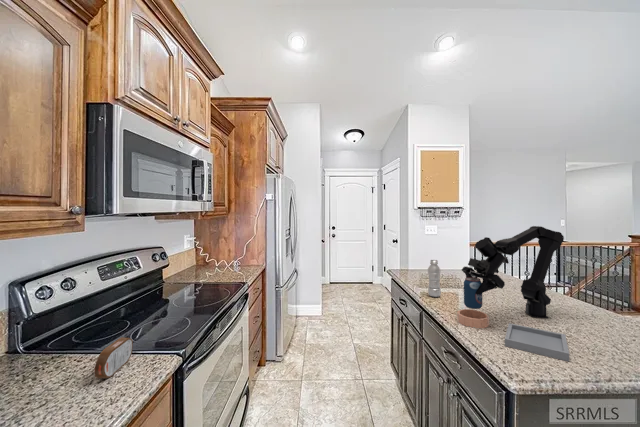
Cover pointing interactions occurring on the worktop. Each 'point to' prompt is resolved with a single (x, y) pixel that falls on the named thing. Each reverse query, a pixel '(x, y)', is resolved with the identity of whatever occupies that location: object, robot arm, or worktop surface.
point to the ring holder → (473, 318)
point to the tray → (537, 341)
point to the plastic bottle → (434, 279)
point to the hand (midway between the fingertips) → (470, 291)
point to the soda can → (472, 293)
